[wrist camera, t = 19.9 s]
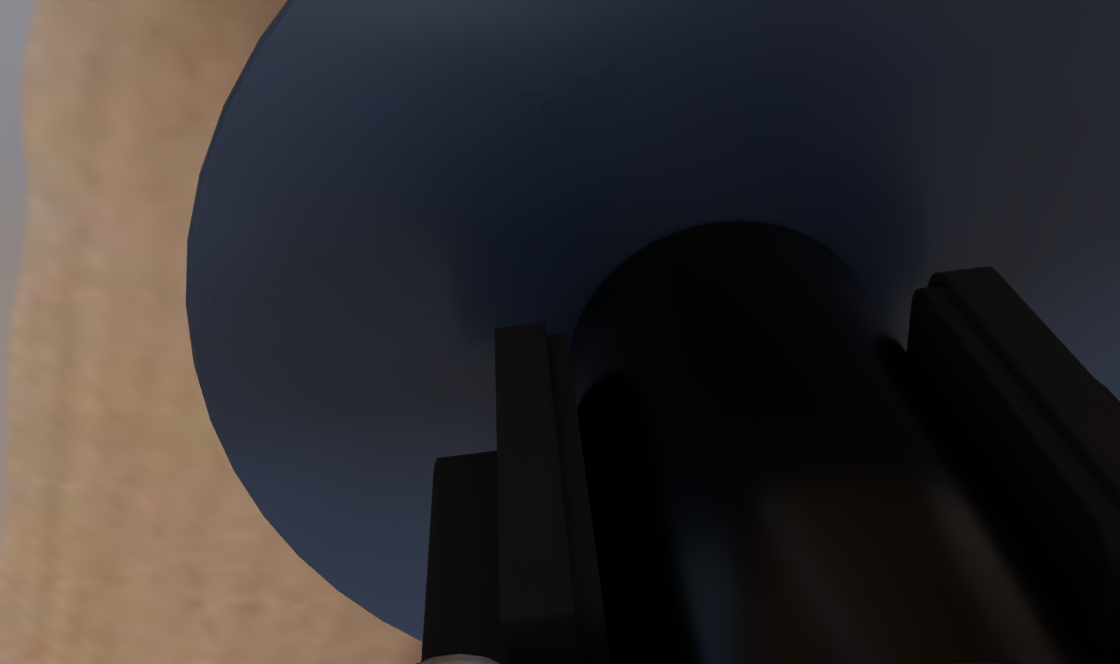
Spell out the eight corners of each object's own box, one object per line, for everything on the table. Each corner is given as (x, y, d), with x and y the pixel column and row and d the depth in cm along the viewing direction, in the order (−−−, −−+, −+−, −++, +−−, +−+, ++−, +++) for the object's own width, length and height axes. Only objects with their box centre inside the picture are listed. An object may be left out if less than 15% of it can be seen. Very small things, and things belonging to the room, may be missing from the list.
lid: (42, -157, 9) (-741, 83, 3) (1319, -323, 9) (2830, -386, 3) (338, 679, 16) (252, 1264, 10) (1090, 582, 16) (1461, 1111, 10)
